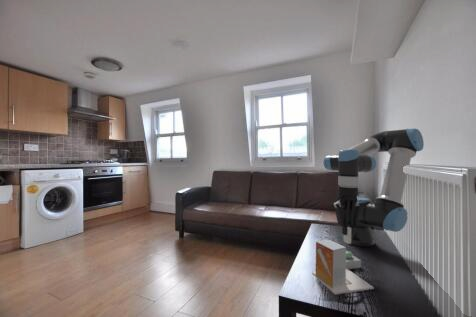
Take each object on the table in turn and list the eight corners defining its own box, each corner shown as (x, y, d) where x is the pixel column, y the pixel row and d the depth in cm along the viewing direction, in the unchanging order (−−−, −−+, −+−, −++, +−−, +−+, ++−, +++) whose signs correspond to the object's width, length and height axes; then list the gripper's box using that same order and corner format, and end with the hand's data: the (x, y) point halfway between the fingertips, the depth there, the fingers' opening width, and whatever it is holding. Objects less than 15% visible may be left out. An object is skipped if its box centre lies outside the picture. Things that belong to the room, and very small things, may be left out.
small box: (315, 276, 78) (315, 241, 78) (328, 273, 80) (328, 238, 80) (332, 289, 70) (333, 249, 70) (346, 284, 73) (346, 247, 73)
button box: (348, 259, 92) (348, 252, 92) (360, 267, 86) (360, 260, 86) (334, 261, 91) (334, 254, 91) (346, 269, 84) (346, 261, 84)
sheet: (346, 269, 84) (346, 267, 84) (373, 289, 71) (373, 287, 71) (312, 273, 81) (312, 271, 81) (334, 294, 68) (334, 292, 68)
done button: (347, 255, 90) (347, 250, 90) (353, 259, 87) (353, 253, 87) (341, 256, 90) (341, 251, 90) (346, 259, 86) (346, 254, 86)
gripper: (354, 185, 94) (353, 238, 93) (328, 185, 91) (327, 240, 91) (368, 187, 86) (367, 244, 86) (340, 187, 83) (339, 247, 83)
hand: (347, 242), depth 88 cm, fingers closed
